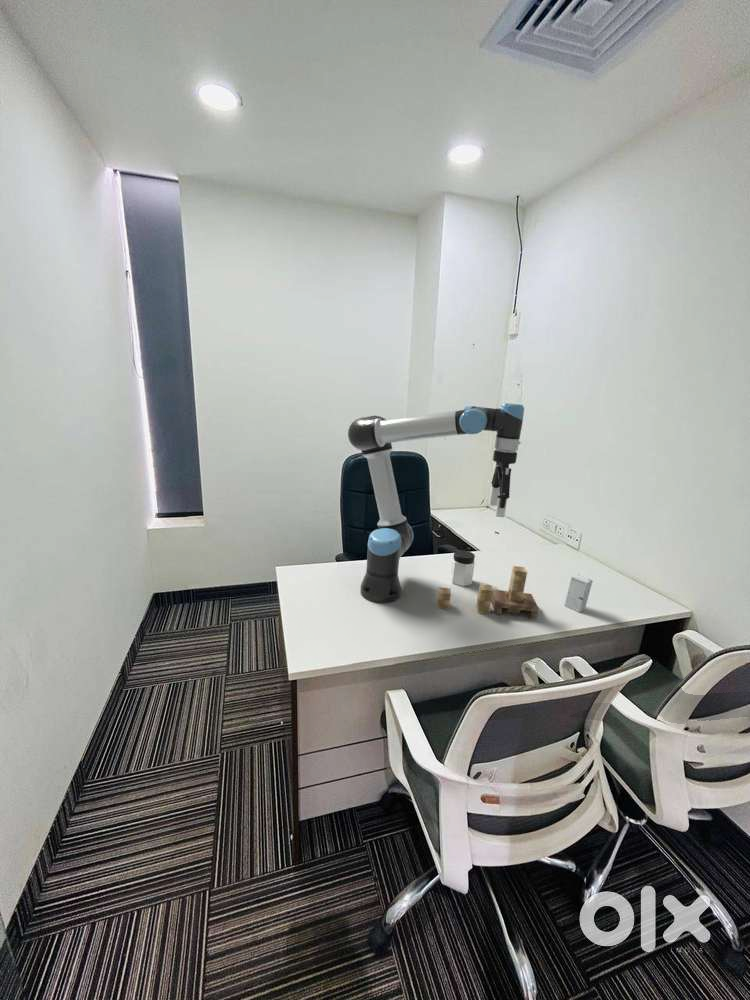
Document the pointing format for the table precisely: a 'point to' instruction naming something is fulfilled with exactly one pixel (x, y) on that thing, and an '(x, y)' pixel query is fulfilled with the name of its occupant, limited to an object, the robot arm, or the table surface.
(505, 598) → the bridge
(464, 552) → the jar
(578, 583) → the skincare box
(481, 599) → the peg mid
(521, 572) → the peg long
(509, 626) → the table surface
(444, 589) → the peg short
